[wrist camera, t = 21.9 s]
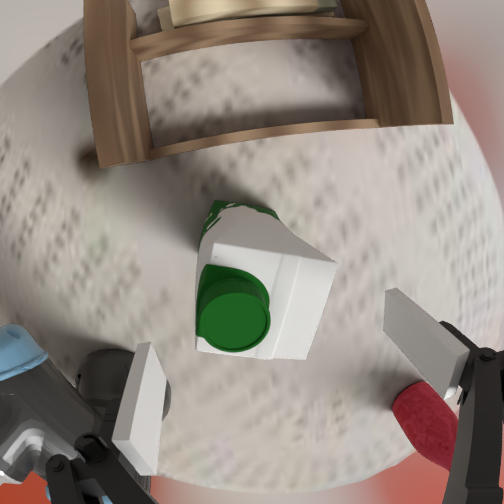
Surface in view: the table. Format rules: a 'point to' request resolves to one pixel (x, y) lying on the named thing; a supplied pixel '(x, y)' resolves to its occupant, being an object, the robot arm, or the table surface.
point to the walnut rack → (259, 29)
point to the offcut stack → (237, 10)
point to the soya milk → (257, 285)
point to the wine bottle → (427, 423)
